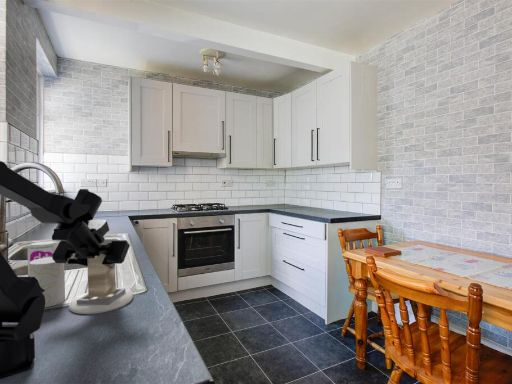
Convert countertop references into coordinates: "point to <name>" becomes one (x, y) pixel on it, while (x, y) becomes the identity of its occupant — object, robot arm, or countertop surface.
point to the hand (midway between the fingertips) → (104, 266)
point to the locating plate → (100, 302)
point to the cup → (49, 279)
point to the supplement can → (41, 250)
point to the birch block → (100, 278)
